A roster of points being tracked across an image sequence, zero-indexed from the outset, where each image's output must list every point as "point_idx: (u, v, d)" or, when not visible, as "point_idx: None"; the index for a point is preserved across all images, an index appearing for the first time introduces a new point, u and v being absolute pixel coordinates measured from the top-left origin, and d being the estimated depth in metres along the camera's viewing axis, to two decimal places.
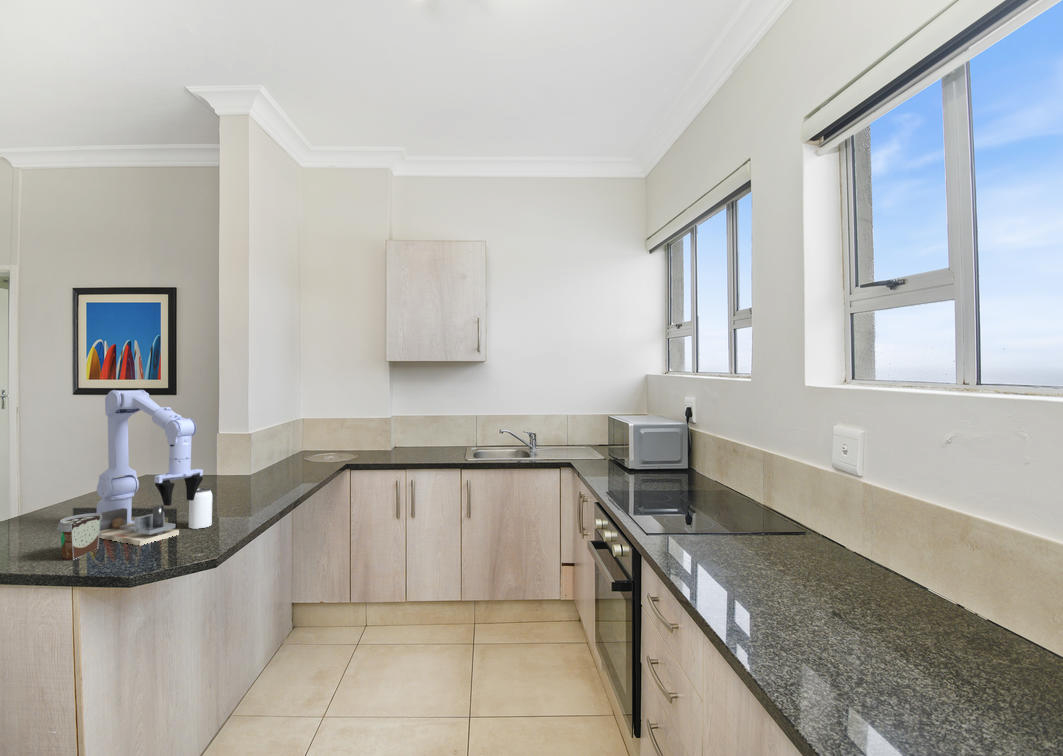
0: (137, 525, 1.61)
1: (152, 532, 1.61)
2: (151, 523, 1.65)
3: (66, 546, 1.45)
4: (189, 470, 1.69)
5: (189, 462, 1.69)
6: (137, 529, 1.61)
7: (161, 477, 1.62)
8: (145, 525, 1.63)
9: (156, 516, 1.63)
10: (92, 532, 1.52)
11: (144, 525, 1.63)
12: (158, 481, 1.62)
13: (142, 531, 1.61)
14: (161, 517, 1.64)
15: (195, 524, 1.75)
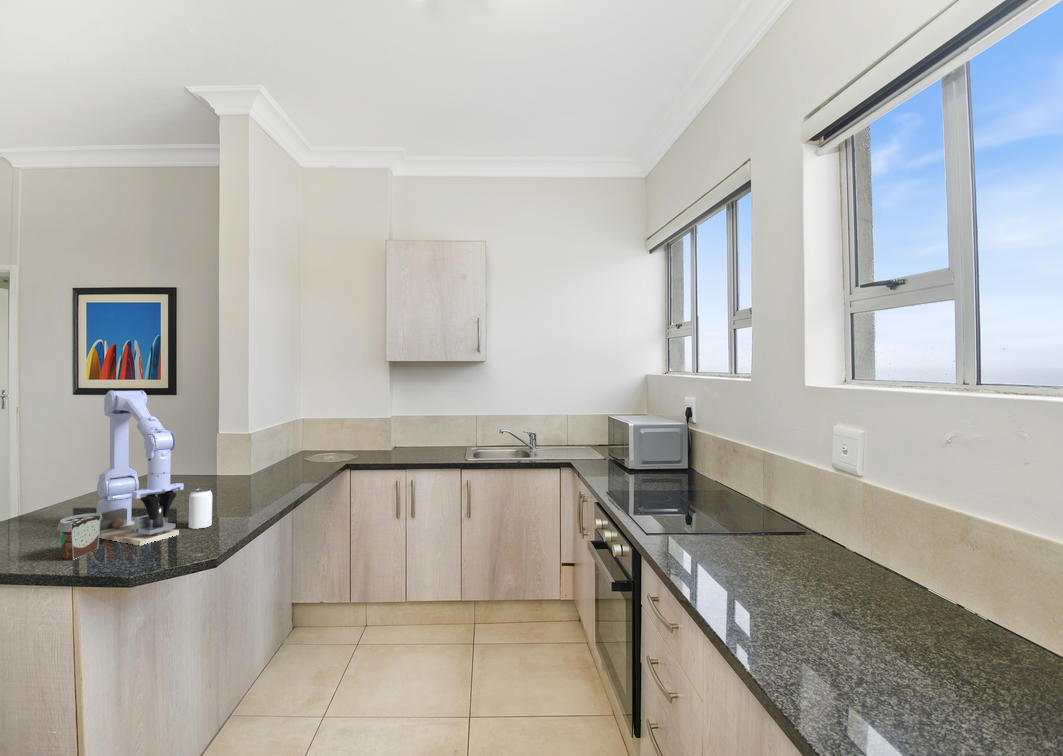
0: (137, 525, 1.61)
1: (152, 532, 1.61)
2: (151, 523, 1.65)
3: (66, 546, 1.45)
4: (168, 485, 1.64)
5: (168, 476, 1.64)
6: (137, 529, 1.61)
7: (139, 493, 1.58)
8: (145, 525, 1.63)
9: None
10: (92, 532, 1.52)
11: (144, 525, 1.63)
12: (135, 497, 1.57)
13: (142, 531, 1.61)
14: (161, 517, 1.64)
15: (195, 524, 1.75)
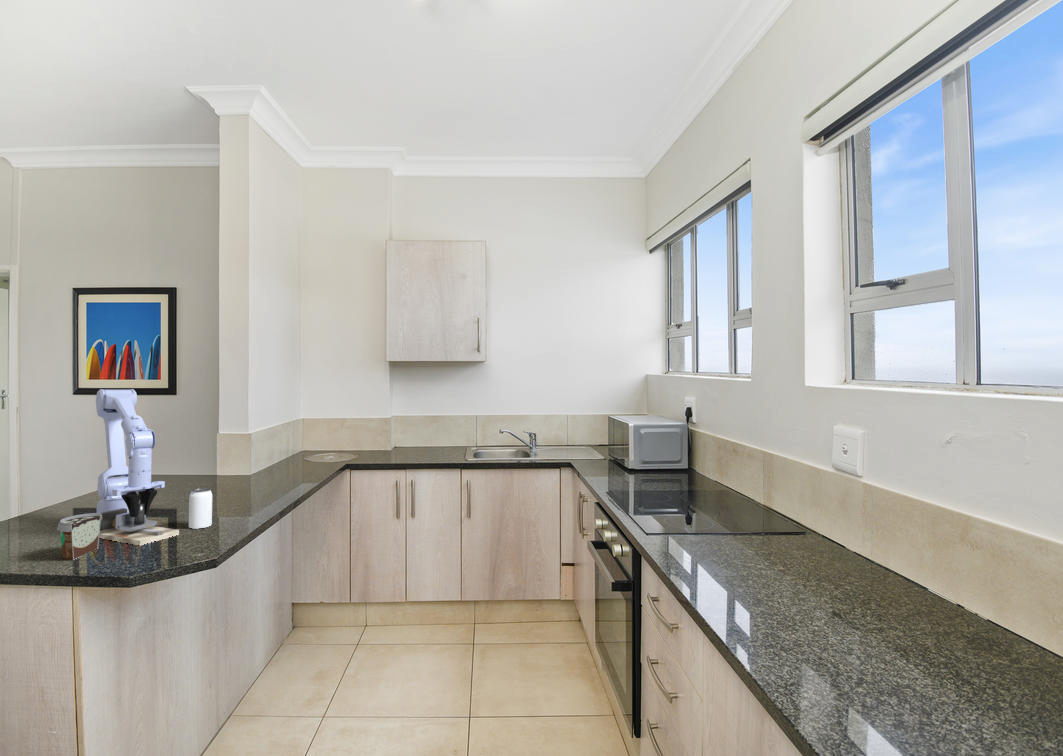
0: (118, 522, 1.64)
1: (133, 529, 1.63)
2: (132, 520, 1.68)
3: (66, 546, 1.45)
4: (149, 482, 1.67)
5: (149, 474, 1.67)
6: (118, 526, 1.64)
7: (119, 490, 1.60)
8: (126, 522, 1.66)
9: (138, 513, 1.65)
10: (92, 532, 1.52)
11: (125, 522, 1.66)
12: (116, 494, 1.60)
13: (123, 528, 1.63)
14: (142, 514, 1.66)
15: (195, 524, 1.75)
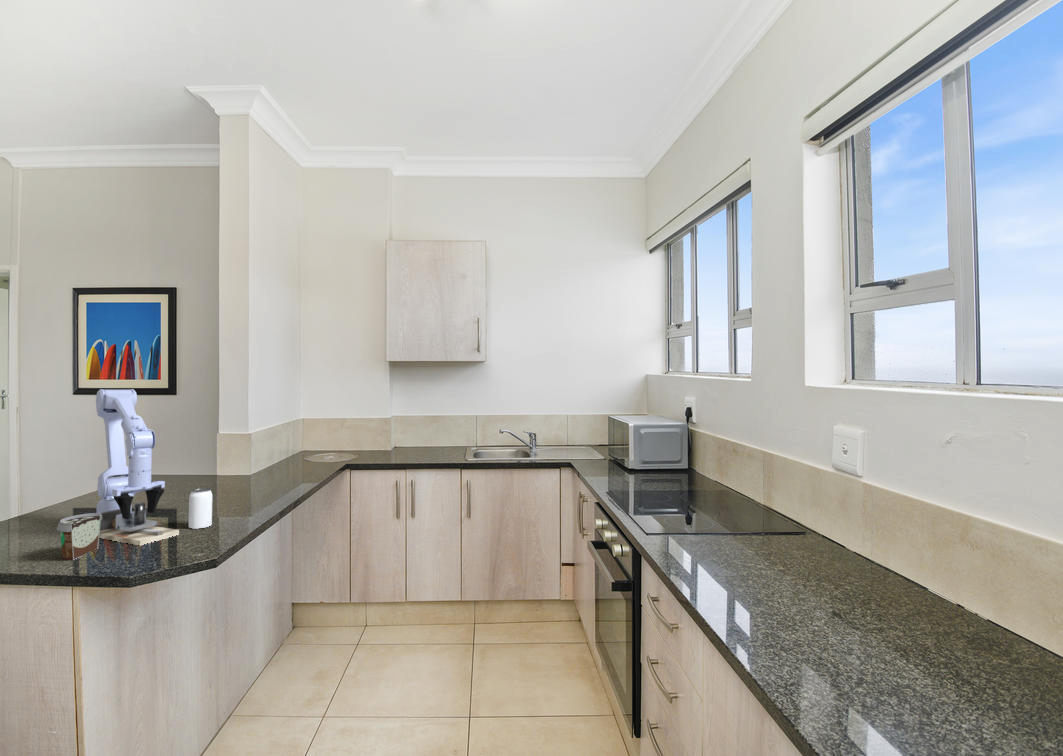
0: (118, 522, 1.64)
1: (133, 529, 1.63)
2: (132, 520, 1.68)
3: (66, 546, 1.45)
4: (149, 482, 1.67)
5: (149, 474, 1.67)
6: (118, 526, 1.64)
7: (119, 490, 1.60)
8: (126, 522, 1.66)
9: (138, 513, 1.65)
10: (92, 532, 1.52)
11: (125, 522, 1.66)
12: (116, 494, 1.60)
13: (123, 528, 1.63)
14: (142, 514, 1.66)
15: (195, 524, 1.75)
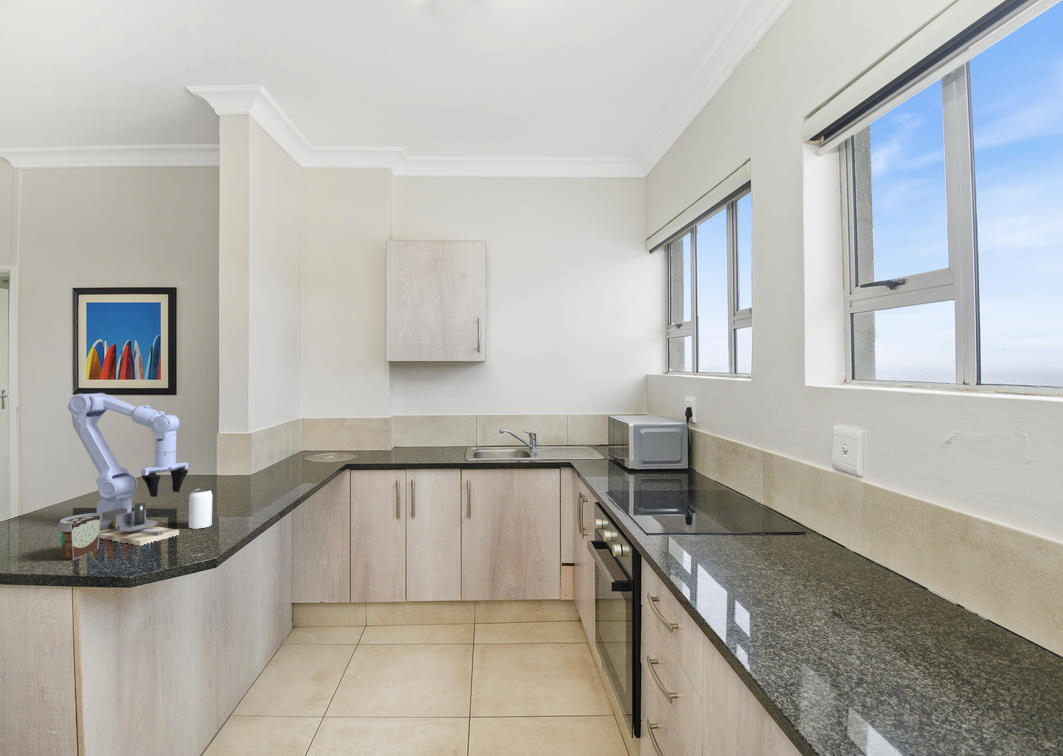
0: (118, 522, 1.64)
1: (133, 529, 1.63)
2: (132, 520, 1.68)
3: (66, 546, 1.45)
4: (174, 463, 1.79)
5: (174, 455, 1.79)
6: (118, 526, 1.64)
7: (147, 470, 1.72)
8: (126, 522, 1.66)
9: (138, 513, 1.65)
10: (92, 532, 1.52)
11: (125, 522, 1.66)
12: (144, 473, 1.71)
13: (123, 528, 1.63)
14: (142, 514, 1.66)
15: (195, 524, 1.75)
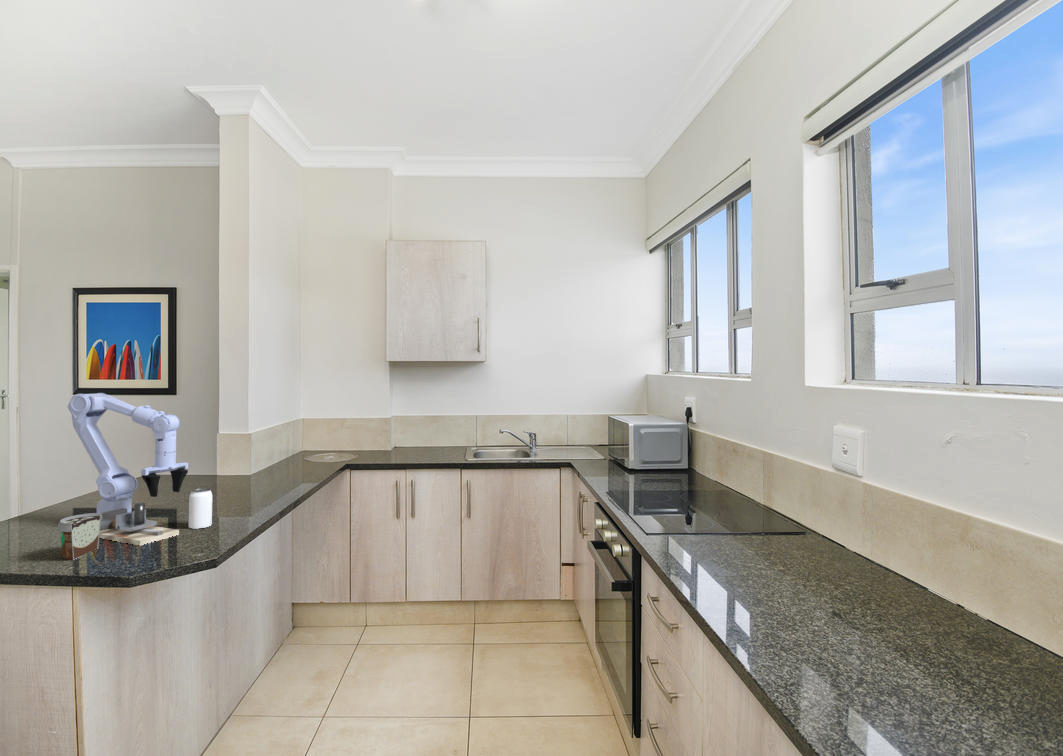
0: (118, 522, 1.64)
1: (133, 529, 1.63)
2: (132, 520, 1.68)
3: (66, 546, 1.45)
4: (174, 463, 1.79)
5: (174, 455, 1.79)
6: (118, 526, 1.64)
7: (147, 470, 1.72)
8: (126, 522, 1.66)
9: (138, 513, 1.65)
10: (92, 532, 1.52)
11: (125, 522, 1.66)
12: (144, 473, 1.71)
13: (123, 528, 1.63)
14: (142, 514, 1.66)
15: (195, 524, 1.75)
